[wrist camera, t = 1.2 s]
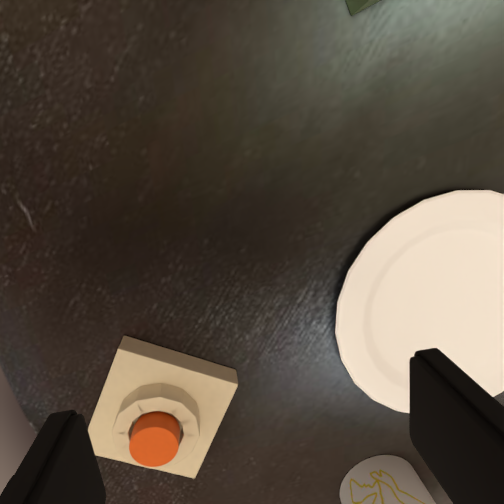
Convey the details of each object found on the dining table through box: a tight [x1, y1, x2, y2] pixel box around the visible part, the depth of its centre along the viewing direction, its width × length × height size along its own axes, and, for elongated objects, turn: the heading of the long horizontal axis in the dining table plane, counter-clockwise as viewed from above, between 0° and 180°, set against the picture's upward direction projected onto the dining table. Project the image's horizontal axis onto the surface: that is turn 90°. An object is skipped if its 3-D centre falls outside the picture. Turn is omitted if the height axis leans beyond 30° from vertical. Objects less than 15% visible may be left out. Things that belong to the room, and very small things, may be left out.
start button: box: [129, 412, 180, 467], centre depth 29 cm, size 4×4×2 cm
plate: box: [335, 190, 504, 413], centre depth 33 cm, size 21×21×2 cm
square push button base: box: [88, 336, 238, 478], centre depth 31 cm, size 10×10×4 cm
